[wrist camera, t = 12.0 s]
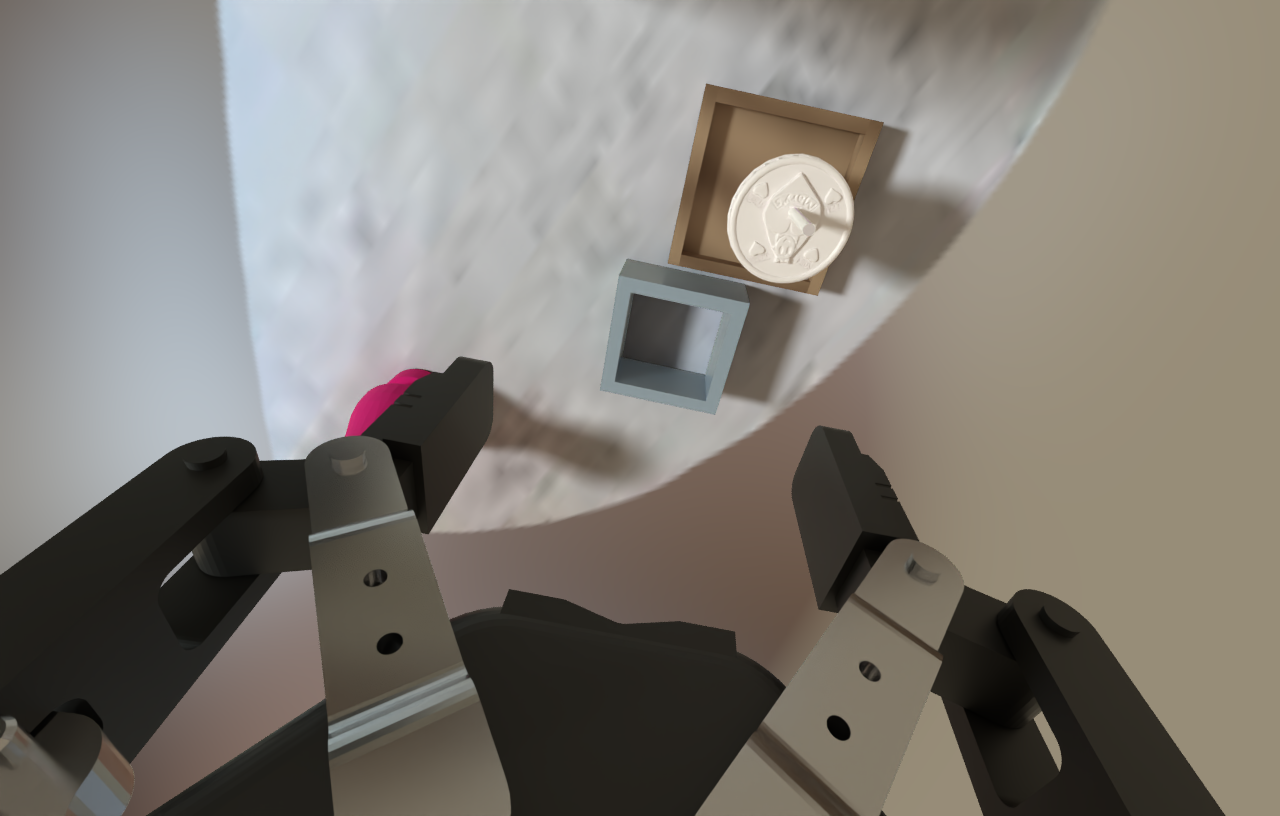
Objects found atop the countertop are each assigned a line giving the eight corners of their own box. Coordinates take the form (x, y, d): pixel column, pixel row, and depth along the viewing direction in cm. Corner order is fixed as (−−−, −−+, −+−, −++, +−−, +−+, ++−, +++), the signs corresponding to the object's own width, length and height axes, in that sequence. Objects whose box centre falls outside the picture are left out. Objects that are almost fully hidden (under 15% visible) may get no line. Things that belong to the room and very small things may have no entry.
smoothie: (828, 148, 32) (904, 170, 20) (804, 249, 36) (857, 319, 24) (729, 139, 33) (746, 155, 21) (714, 240, 36) (721, 304, 24)
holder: (627, 258, 38) (618, 275, 35) (744, 284, 38) (749, 303, 35) (608, 365, 43) (599, 390, 39) (713, 387, 43) (715, 414, 39)
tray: (705, 85, 32) (706, 83, 30) (873, 121, 32) (883, 122, 30) (669, 255, 38) (667, 263, 36) (811, 286, 38) (817, 295, 36)
